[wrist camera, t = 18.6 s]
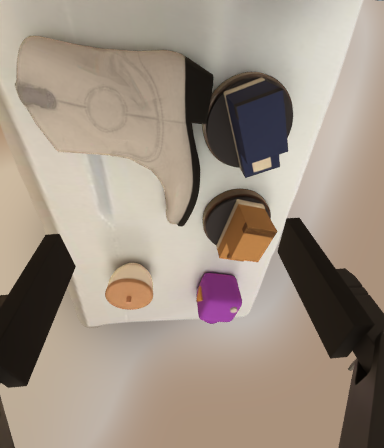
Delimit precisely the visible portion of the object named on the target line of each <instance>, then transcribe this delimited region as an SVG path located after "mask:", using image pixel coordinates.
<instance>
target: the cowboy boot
mask: <svg viewBox="0 0 384 448" xmlns="http://www.w3.org/2000/svg"><path fill="white" fill-rule="evenodd" d="M15 87H16V90H17V92H18V95H19V98H20V100H21V101H22V103H23V104H24V105H25V106H26V108H27V109H28V111H29V113H30V114H31V116H32V118H33V120H34V121H35V123H36V125H37V126H38V127H39V128H40V130H41V131H42V132H43V133H44V135H45V136H46V137H47V139H48V140H49V141H50V142H51V144H52V145H53V146H54V148H55V149H56V150H57V151H58V152H72V153H85V154H100V155H111V156H118V157H124V158H129V159H131V160H133V161H135V162H137V163H139V164H140V165H142V166H144V167H146V168H148V169H150V170H151V171H152V172H153V173H154V174H155V175H156V176H157V177H158V179H159V180H160V182H161V184H162V186H163V188H164V190H165V199H166V217H167V220H168V221H169V222H170V223H172V224H177V225H178V226H184V225H185V223H186V222H187V220H188V219H189V217H190V215H191V213H192V211H193V209H194V206H195V204H196V201H197V197H198V193H199V185H200V165H199V158H198V154H197V150H196V145H195V140H194V135H193V129H192V123H199V124H207V118H208V112H209V106H210V101H211V95H212V88H213V74H211V73H209V72H208V71H207V70H205V69H204V68H202V67H201V66H199V65H198V64H196V63H195V62H193V61H192V60H190V59H189V58H187V57H185V56H184V55H182V54H180V53H177V52H174V51H167V50H151V51H126V50H114V49H101V48H94V47H89V46H83V45H77V44H72V43H68V42H63V41H59V40H55V39H50V38H46V37H41V36H29V37H27V38H25V39H24V40H23V42H22V44H21V45H20V49H19V52H18V58H17V81H16V83H15Z"/></svg>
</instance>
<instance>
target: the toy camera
mask: <svg viewBox="0 0 384 448" xmlns="http://www.w3.org/2000/svg"><path fill="white" fill-rule="evenodd" d="M197 305H198V314H199V318H200V319H201V320H204V321H205V322H207V323H210V324H213V323H217V322H230V321H231V320H232V319H233V318H234V317H235V315H236V313H237V312H238V310H239V309H240V307H241V305H242V299H241V295H240V291H239V287H238V284H237V280H236V278H235V277H234V276H232V275H224V274H215V273H206V274H204V276H203V277H202V280H201V282H200V285H199V287H198V290H197Z"/></svg>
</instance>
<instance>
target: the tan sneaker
mask: <svg viewBox="0 0 384 448" xmlns="http://www.w3.org/2000/svg"><path fill="white" fill-rule="evenodd" d="M206 232H207V235H208V237H209V239H210V240H211V241H212V242H213V243H214V244H215V245H216V246H217V250H218V254H219V258H222V259H230V260H237V261H244V260H246V261H253V262H258V261H259V260H260V258H261V257H262V255H263V253H264V252H265V250H266V249H267V247H268V245H269V244H270V242H271V241H272V239H273V238H274V236H275V235H276V233H277V230H276V228H275V227H274V225H273V223H272V221H271V219H270V214H269V211H268V209H267V208H266V206H265V205H264V204H263V203H262V202H260V201H259V200H257V199H255V198H251V197H235V198H231V199H228V200H226V201H223V202H222V203H220V204H219V205H217V206H216V207H215V208H214V209H213V210H212V211H211V212H210V214H209V216H208V218H207V221H206Z"/></svg>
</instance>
